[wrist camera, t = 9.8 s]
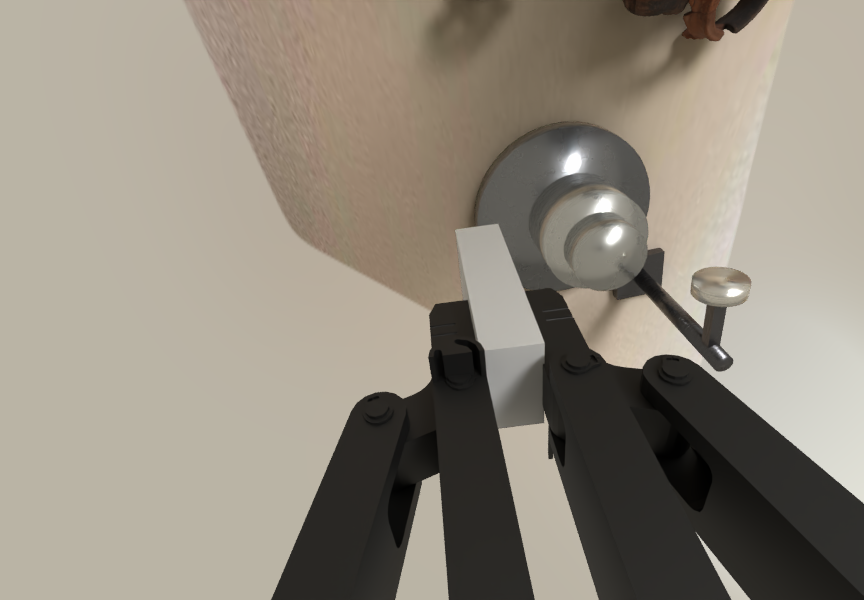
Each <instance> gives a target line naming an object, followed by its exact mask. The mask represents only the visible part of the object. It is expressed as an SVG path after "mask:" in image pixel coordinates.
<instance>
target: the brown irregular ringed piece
mask: <svg viewBox="0 0 864 600" xmlns="http://www.w3.org/2000/svg"><path fill="white" fill-rule="evenodd" d="M767 1H768V0H740V1H739V2H738V3H737V5H736V6H735V7H734V8H733V9H732V10H731V11H729V12H728V13H727V14H726V15H724V16H723V17H721V18H720V19H718V20H717V21H716V22H715V16H716V8H717V6H718V4H719V2H720V0H623V2H624V5H625V7H626V8H627V10H628V11H630V12H631V13H633V14H636V15H639V16H654V15H659V14H663V15H672V14H679V13H680V12H682V11H683V10H684V9H685V7H686V5H687V3H689V4H690V6H691V9H692V11H690V12H687V13H685V14H684V16H683V20H684V22H685V24H686V26H687V29H686V30H685V31H684V32H683V33H682V36H685V37H686V38H687V39H689V38H692V39H703V38H707V39H709V40H710V41H719V40H720V39H721V38H722V36H723V35H724V31H723V30H724V29H727V30H729V31H730V32H732V33H738V32H739V31H740V30H741V29H743V28H744V27H745V26H746V25H748V23H749V22H750V21H751V20H753V19H754V18H755V17H756V15H757V14H758V13H759V12H760V11H761V9H762V8H763V7H764V6H765V4H766V3H767Z"/></svg>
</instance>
